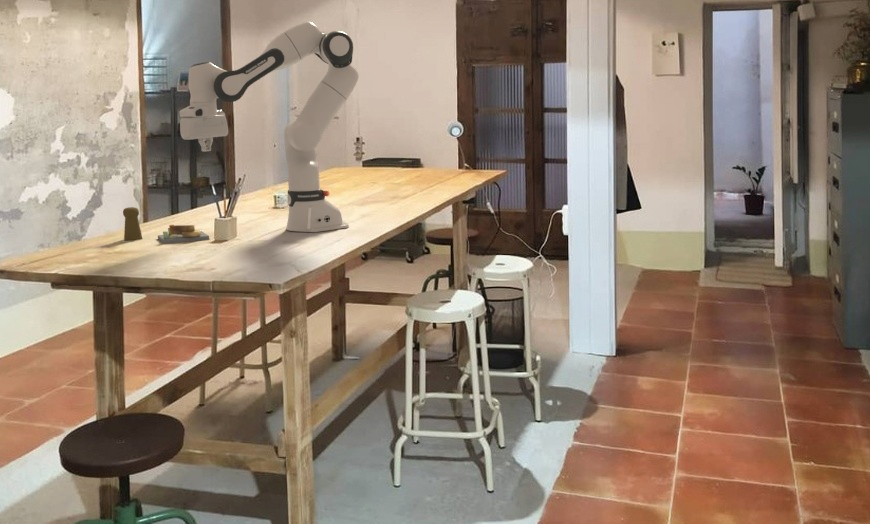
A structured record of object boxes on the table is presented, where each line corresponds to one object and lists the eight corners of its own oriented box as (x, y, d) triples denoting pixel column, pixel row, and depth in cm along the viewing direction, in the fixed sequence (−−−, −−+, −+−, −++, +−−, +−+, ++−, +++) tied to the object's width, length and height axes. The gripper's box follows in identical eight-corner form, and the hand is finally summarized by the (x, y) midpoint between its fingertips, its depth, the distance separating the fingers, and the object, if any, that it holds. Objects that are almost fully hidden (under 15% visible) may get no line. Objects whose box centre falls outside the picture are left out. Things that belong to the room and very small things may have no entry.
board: (201, 234, 314) (200, 224, 313) (209, 239, 304) (208, 228, 303) (157, 238, 307) (157, 228, 306) (164, 243, 297) (163, 232, 297)
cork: (136, 237, 311) (133, 205, 309) (146, 238, 307) (143, 207, 305) (120, 239, 307) (117, 207, 304) (130, 241, 303) (127, 209, 301)
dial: (202, 234, 306) (201, 223, 305) (197, 237, 300) (196, 226, 299) (173, 234, 306) (172, 223, 306) (167, 237, 300) (167, 226, 300)
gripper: (217, 109, 316) (219, 148, 319) (175, 111, 298) (178, 153, 301) (231, 109, 313) (233, 149, 316) (189, 111, 295) (192, 153, 298)
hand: (206, 151), depth 308 cm, fingers closed
